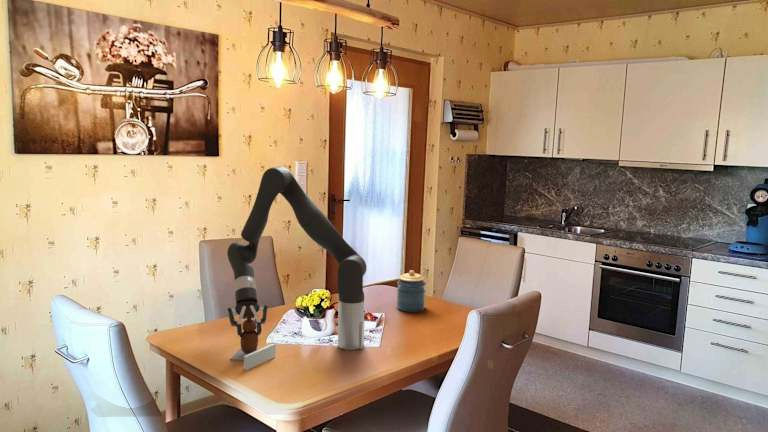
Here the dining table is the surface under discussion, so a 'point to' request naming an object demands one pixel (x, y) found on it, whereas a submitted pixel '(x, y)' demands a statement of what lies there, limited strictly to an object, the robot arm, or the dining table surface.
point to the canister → (411, 292)
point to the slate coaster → (239, 355)
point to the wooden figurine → (249, 336)
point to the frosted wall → (259, 356)
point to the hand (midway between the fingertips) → (249, 335)
